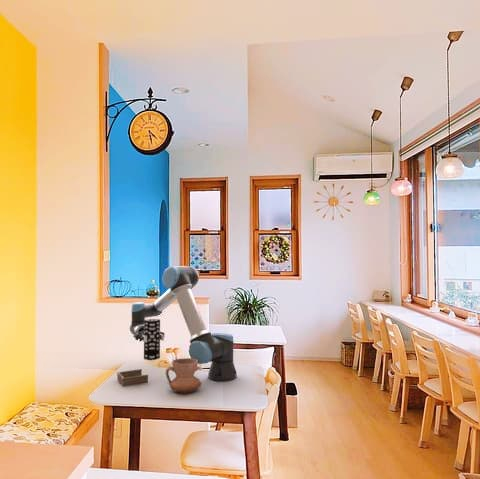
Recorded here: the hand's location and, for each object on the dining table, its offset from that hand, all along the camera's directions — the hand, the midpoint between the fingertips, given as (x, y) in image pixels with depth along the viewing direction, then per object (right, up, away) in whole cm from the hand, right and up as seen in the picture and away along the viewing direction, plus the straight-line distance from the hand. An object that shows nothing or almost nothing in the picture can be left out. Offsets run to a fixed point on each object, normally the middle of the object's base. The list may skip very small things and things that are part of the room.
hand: (154, 338), depth 209 cm
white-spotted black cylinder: (-2, -11, +4) cm, 12 cm away
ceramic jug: (+17, -21, -15) cm, 31 cm away
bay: (-11, -22, -1) cm, 25 cm away
